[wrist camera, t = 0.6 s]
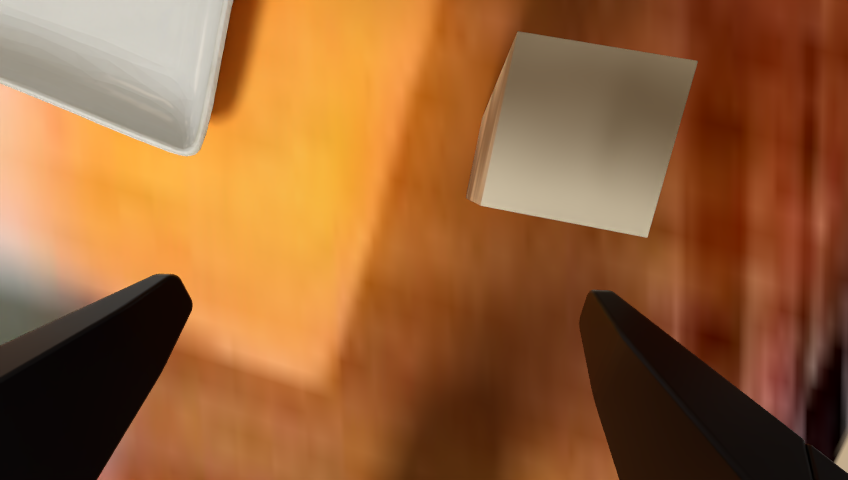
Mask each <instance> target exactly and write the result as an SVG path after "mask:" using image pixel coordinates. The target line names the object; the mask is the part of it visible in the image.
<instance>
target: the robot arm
mask: <svg viewBox="0 0 848 480" xmlns="http://www.w3.org/2000/svg"><path fill="white" fill-rule="evenodd" d="M192 305H193V304H192V300H191V298H190V296H189V294H188V292H187V290H186V288H185V286H184V284H183V283H182V281H181V279H180V278H179V277H178V276H177V275H174V274H155V275H153V276H150V277H148V278H146V279H144V280H142V281H140V282H137V283H135V284H133V285H131V286H129V287H127V288H124V289H122V290H120V291H118V292H116V293H114V294H111V295H109V296H107V297H105V298H103V299H100V300H98V301H96V302H94V303H92V304H90V305H87V306H85V307H83V308H81V309H79V310H77V311H74V312H72V313H70V314H68V315H66V316H64V317H61V318H59V319H57V320H55V321H53V322H50V323H48V324H46V325H44V326H42V327H40V328H37V329H35V330H33V331H31V332H29V333H27V334H24V335H22V336H20V337H18V338H16V339H14V340H11V341H9V342H7V343H5V344H3V345H1V346H0V480H97V479H98V477H99V475H100V474H101V472H102V470H103V469H104V467H105V466H106V464H107V462H108V461H109V459H110V457H111V456H112V454H113V452H114V451H115V449H116V447H117V446H118V444H119V442H120V441H121V439H122V437H123V436H124V434H125V432H126V431H127V429H128V428H129V426H130V424H131V423H132V421H133V419H134V418H135V416H136V414H137V413H138V411H139V409H140V408H141V406H142V404H143V403H144V401H145V399H146V398H147V396H148V394H149V393H150V391H151V390H152V388H153V386H154V385H155V383H156V381H157V379H158V378H159V376H160V374H161V372H162V371H163V369H164V367H165V365H166V363H167V361H168V359H169V357H170V355H171V353H172V350H173V348H174V346H175V344H176V342H177V340H178V338H179V336H180V334H181V332H182V330H183V328H184V326H185V324H186V321H187V319H188V317H189V315H190V313H191V311H192ZM579 325H580V332H581V337H582V342H583V347H584V353H585V358H586V363H587V368H588V373H589V378H590V383H591V388H592V392H593V397H594V400H595V404H596V407H597V411H598V414H599V417H600V420H601V423H602V426H603V430H604V433H605V436H606V439H607V442H608V445H609V448H610V452H611V455H612V458H613V461H614V464H615V467H616V470H617V474H618V477H619V480H848V473H847V472H845V471H844V470H843V469H841V468H840V467H839V466H837V465H836V464H835V463H834V462H832V461H831V460H830V459H828V458H827V457H826V456H825V455H823V454H822V453H821V452H819V451H818V450H817V449H816V448H814V447H813V446H812V445H809V444H805V441H804V440H803V439H802V438H801V437H800V436H798V435H797V434H796V433H795V432H793V431H792V430H791V429H789V428H788V427H787V426H786V425H784V424H783V423H782V422H780V421H779V420H778V419H777V418H775V417H774V416H773V415H771V414H770V413H769V412H768V411H766V410H765V409H764V408H762V407H761V406H760V405H758V404H757V403H756V402H755V401H753V400H752V399H751V398H749V397H748V396H747V395H746V394H744V393H743V392H742V391H740V390H739V389H738V388H737V387H735V386H734V385H733V384H731V383H730V382H729V381H728V380H726V379H725V378H724V377H722V376H721V375H720V374H718V373H717V372H716V371H715V370H713V369H712V368H711V367H709V366H708V365H707V364H706V363H704V362H703V361H702V360H700V359H699V358H698V357H697V356H695V355H694V354H693V353H691V352H690V351H689V350H688V349H686V348H685V347H684V346H682V345H681V344H680V343H679V342H677V341H676V340H675V339H673V338H672V337H671V336H669V335H668V334H667V333H666V332H664V331H663V330H662V329H660V328H659V327H658V326H657V325H655V324H654V323H653V322H651V321H650V320H649V319H648V318H646V317H645V316H644V315H642V314H641V313H640V312H639V311H637V310H636V309H635V308H633V307H632V306H631V305H629V304H628V303H627V302H626V301H624V300H623V299H622V298H620V297H619V296H618V295H617V294H615V293H614V292H612V291H609V290H591V291H590V292H589V293H588V295H587V297H586V300H585V304H584V307H583V310H582V313H581V316H580V322H579Z"/></svg>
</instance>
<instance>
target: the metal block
mask: <svg viewBox="0 0 848 480" xmlns="http://www.w3.org/2000/svg"><path fill="white" fill-rule="evenodd" d="M697 62H698V61H694V60H688V59H682V58H676V57H670V56H664V55H658V54H652V53H646V52H640V51H634V50H628V49H622V48H616V47H610V46H604V45H598V44H592V43H586V42H580V41H574V40H568V39H562V38H556V37H550V36H543V35H537V34H531V33H525V32H519V31H517V34H516V36H515V39H514V41H513V44H512V46H511V49H510V51H509V54H508V56H507V58H506V61H505V63H504V66H503V68H502V71H501V73H500V76H499V78H498V81H497V83H496V85H495V88H494V90H493V93H492V95H491V98H490V100H489V103H488V105H487V108H486V110H485V112H484V115H483V117H482V122H481V127H480V132H479V136H478V141H477V146H476V151H475V156H474V161H473V166H472V170H471V175H470V180H469V185H468V190H467V195H466V198H467V199H469V200H471V201H473V202H475V203H477V204H478V205H480V206H485V207H491V208H496V209H501V210H506V211H511V212H517V213H522V214H527V215H532V216H537V217H543V218H548V219H553V220H558V221H563V222H569V223H574V224H579V225H584V226H589V227H595V228H600V229H605V230H610V231H615V232H621V233H626V234H631V235H636V236H641V237H648V233H649V230H650V226H651V223H652V219H653V216H654V212H655V209H656V205H657V202H658V198H659V195H660V191H661V188H662V185H663V181H664V178H665V174H666V171H667V167H668V164H669V160H670V157H671V153H672V150H673V146H674V143H675V139H676V136H677V132H678V129H679V125H680V122H681V118H682V115H683V111H684V108H685V104H686V101H687V97H688V94H689V90H690V87H691V83H692V80H693V76H694V73H695V69H696V66H697Z"/></svg>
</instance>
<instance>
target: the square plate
mask: <svg viewBox="0 0 848 480" xmlns="http://www.w3.org/2000/svg"><path fill="white" fill-rule="evenodd" d="M232 4H233V0H0V84H3V85H5V86H8V87H11V88H13V89H15V90H18V91H20V92H23V93H25V94H28V95H30V96H33V97H35V98H38V99H40V100H42V101H45V102H47V103H50V104H52V105H55V106H57V107H60V108H62V109H64V110H67V111H69V112H72V113H74V114H77V115H79V116H81V117H84V118H86V119H88V120H90V121H93V122H95V123H98V124H100V125H102V126H105V127H108V128H110V129H112V130H115V131H117V132H120V133H122V134H124V135H127V136H129V137H132V138H134V139H137V140H139V141H142V142H145V143H147V144H149V145H152V146H155V147H158V148H160V149H163V150H165V151H168V152H171V153H174V154H178V155H182V156H191V155H195V154H196V153H197V152H198V151H199V150H200V149H201V146H202V143H203V141H204V138H205V136H206V132H207V129H208V124H209V121H210V117H211V112H212V109H213V104H214V98H215V93H216V88H217V83H218V78H219V72H220V66H221V60H222V55H223V50H224V45H225V39H226V35H227V29H228V24H229V19H230V13H231V8H232Z"/></svg>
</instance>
